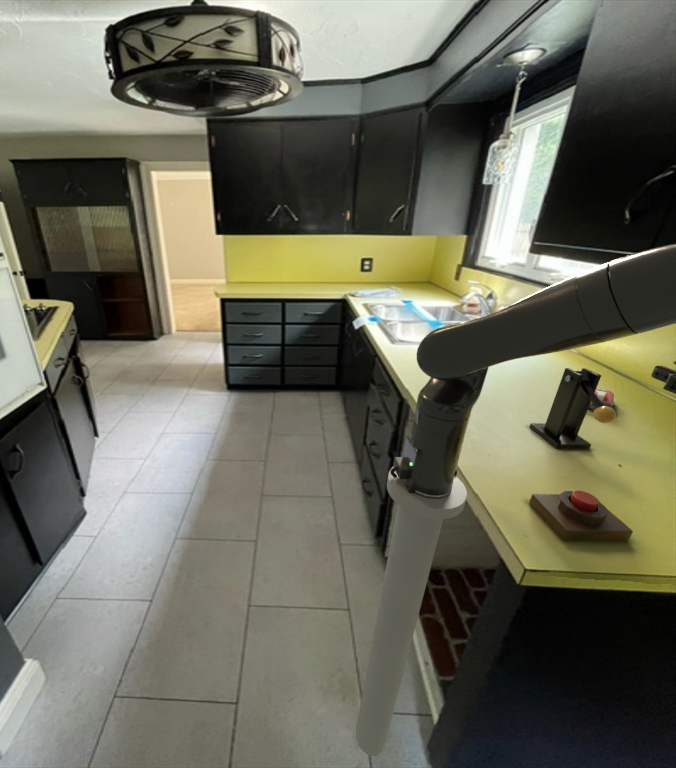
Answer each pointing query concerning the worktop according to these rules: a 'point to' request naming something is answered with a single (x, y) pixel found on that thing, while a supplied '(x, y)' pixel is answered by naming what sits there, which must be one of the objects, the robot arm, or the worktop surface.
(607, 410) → the latch lever
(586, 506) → the release button
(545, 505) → the button base
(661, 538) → the worktop surface
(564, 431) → the bracket
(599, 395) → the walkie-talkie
